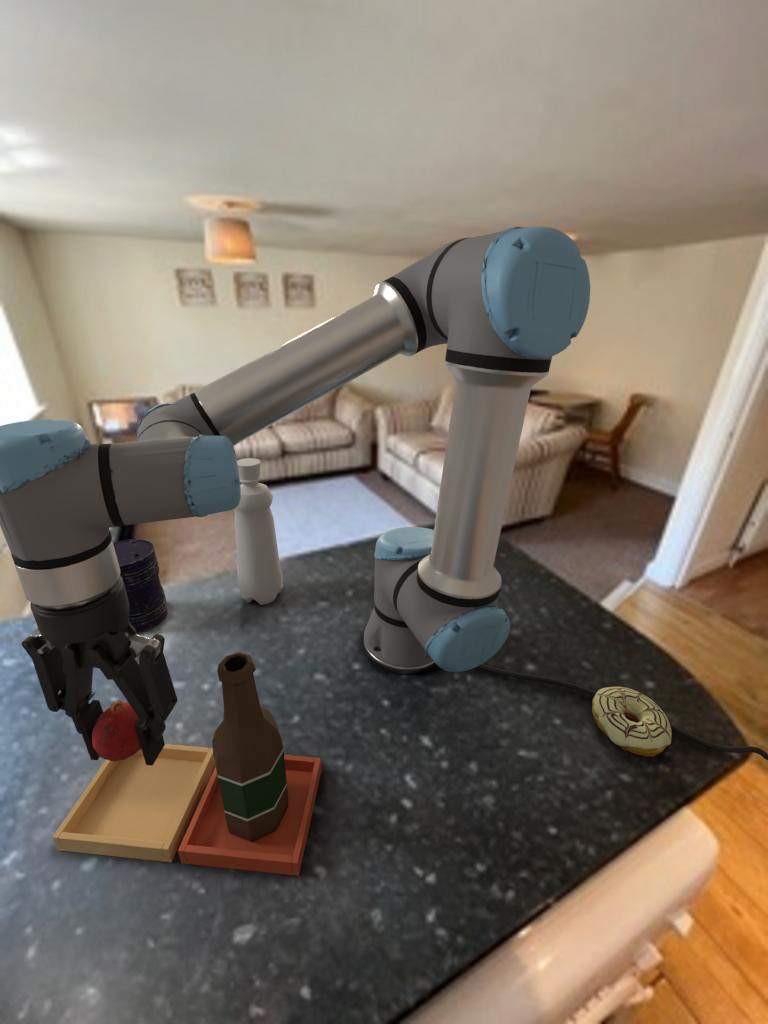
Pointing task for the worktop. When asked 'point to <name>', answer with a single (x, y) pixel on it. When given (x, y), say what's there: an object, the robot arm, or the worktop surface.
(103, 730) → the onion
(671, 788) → the worktop surface
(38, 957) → the worktop surface
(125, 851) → the birch tray
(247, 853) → the terracotta tray
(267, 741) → the beer bottle
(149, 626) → the storage jar
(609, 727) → the decorated donut
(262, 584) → the bottle
